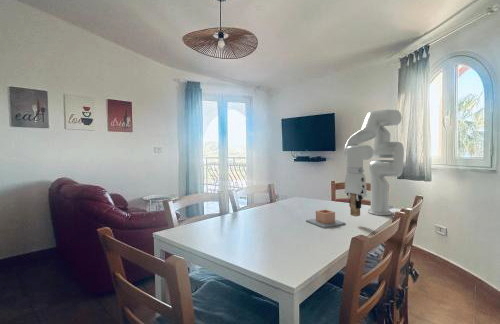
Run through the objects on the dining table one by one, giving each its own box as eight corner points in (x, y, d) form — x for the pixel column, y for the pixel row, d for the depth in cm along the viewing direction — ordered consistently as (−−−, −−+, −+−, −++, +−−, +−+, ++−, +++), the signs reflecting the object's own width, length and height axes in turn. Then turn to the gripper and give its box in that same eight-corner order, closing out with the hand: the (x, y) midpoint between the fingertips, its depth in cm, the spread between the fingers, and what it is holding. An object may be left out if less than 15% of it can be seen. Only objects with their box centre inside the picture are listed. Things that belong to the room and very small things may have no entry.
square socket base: (326, 218, 145) (326, 207, 145) (345, 224, 133) (345, 212, 133) (305, 221, 139) (305, 210, 139) (323, 228, 127) (323, 215, 127)
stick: (355, 214, 134) (354, 190, 133) (360, 215, 131) (359, 191, 130) (350, 215, 133) (350, 191, 132) (355, 216, 130) (355, 192, 129)
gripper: (374, 171, 125) (374, 209, 126) (347, 169, 139) (348, 203, 141) (362, 172, 121) (363, 211, 123) (337, 170, 136) (337, 205, 137)
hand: (355, 207), depth 132 cm, fingers closed on stick, 3 cm apart
